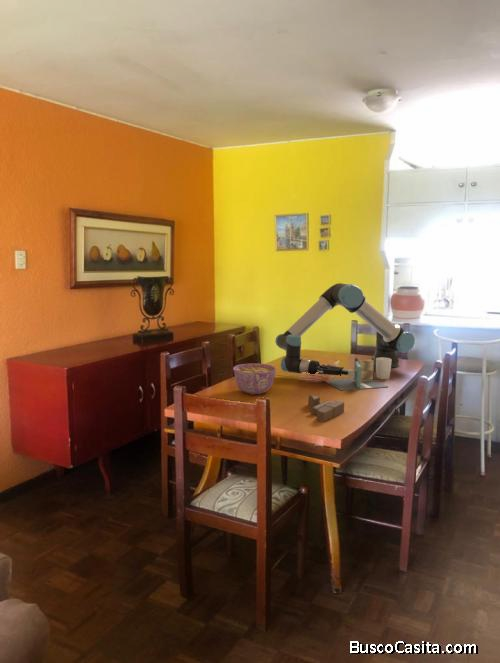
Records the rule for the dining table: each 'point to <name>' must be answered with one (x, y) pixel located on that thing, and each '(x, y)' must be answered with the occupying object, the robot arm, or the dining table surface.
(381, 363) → the white cup
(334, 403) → the wooden block set
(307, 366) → the robot arm
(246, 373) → the bowl of food
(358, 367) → the teal rectangular panel
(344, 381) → the mat
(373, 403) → the dining table surface
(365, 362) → the tan brown patterned panel
